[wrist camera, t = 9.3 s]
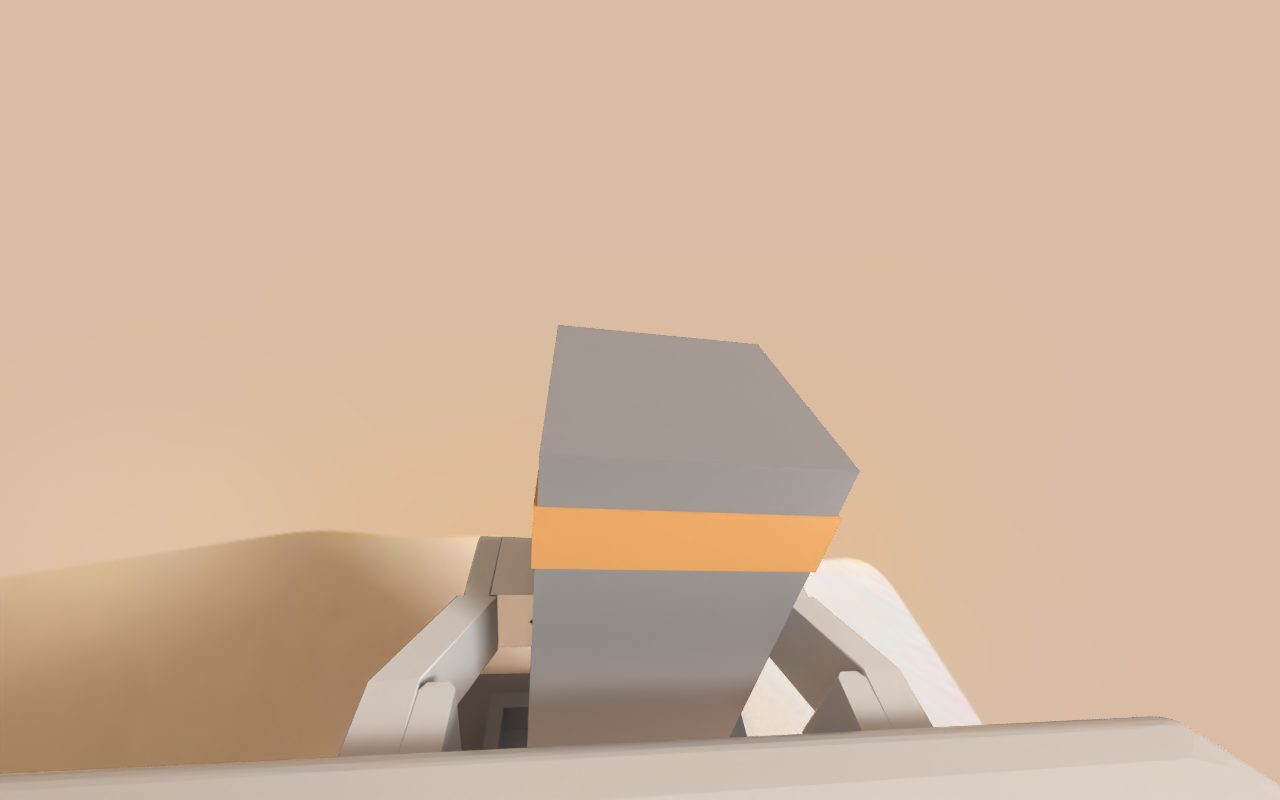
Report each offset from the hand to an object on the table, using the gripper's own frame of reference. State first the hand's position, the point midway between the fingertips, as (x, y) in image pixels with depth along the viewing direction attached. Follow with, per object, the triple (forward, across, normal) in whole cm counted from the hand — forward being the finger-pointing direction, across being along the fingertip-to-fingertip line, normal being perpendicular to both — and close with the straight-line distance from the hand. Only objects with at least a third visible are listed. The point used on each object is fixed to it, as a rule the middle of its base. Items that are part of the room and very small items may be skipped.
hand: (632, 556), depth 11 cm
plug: (-1, 0, +6) cm, 7 cm away
